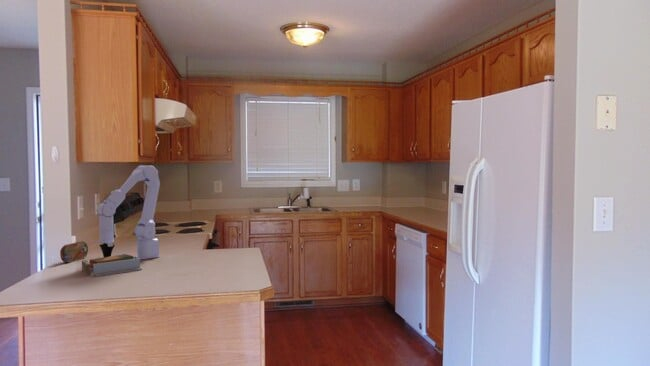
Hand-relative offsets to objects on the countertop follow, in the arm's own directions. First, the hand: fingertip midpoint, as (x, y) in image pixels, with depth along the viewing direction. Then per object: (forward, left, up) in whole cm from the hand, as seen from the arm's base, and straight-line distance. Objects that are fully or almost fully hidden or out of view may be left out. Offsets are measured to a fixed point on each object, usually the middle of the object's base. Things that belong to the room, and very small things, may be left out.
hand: (107, 260), depth 203 cm
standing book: (+11, +13, -2) cm, 17 cm away
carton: (-1, +5, -2) cm, 6 cm away
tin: (+10, -17, -2) cm, 20 cm away
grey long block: (0, +19, -2) cm, 19 cm away
